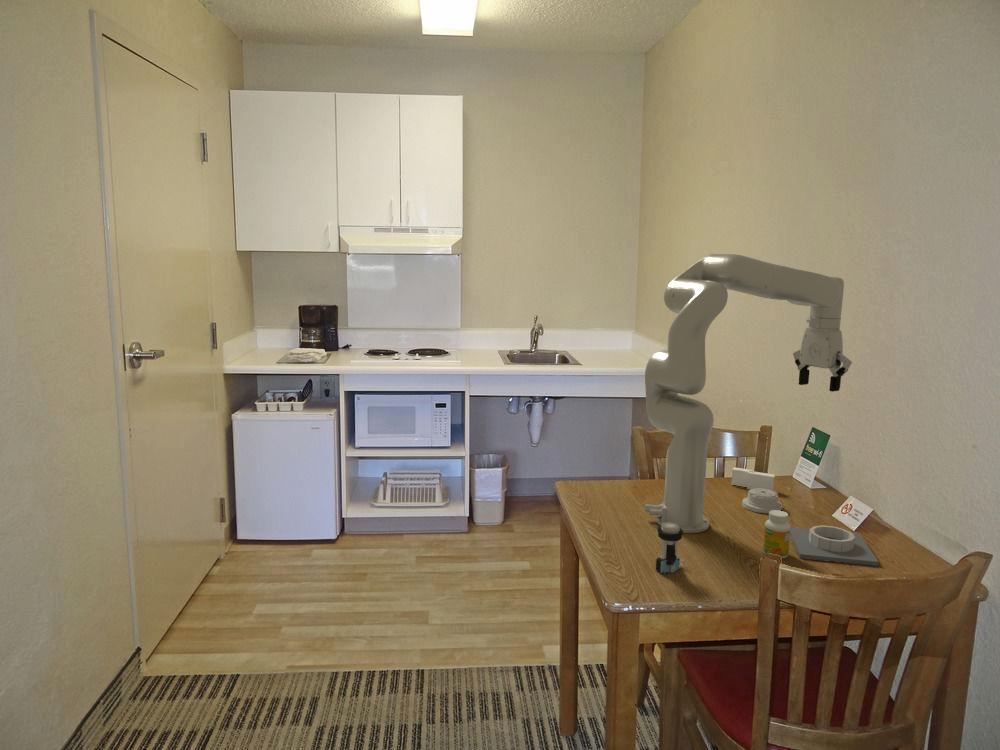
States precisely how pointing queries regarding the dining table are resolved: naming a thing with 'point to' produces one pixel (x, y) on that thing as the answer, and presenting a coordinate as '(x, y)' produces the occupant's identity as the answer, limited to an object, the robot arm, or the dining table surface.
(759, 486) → the napkin holder
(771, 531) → the supplement bottle
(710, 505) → the dining table surface
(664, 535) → the push button
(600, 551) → the dining table surface
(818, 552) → the ring plate
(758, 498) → the mechanical component
